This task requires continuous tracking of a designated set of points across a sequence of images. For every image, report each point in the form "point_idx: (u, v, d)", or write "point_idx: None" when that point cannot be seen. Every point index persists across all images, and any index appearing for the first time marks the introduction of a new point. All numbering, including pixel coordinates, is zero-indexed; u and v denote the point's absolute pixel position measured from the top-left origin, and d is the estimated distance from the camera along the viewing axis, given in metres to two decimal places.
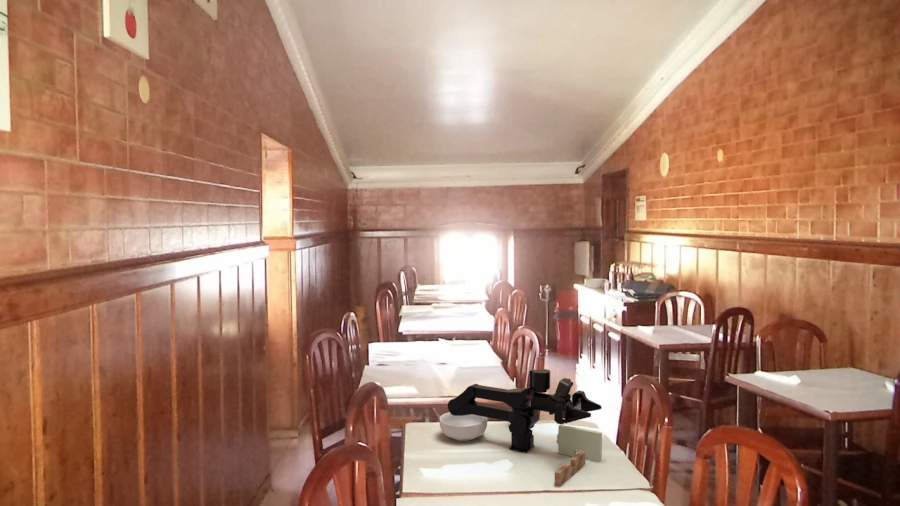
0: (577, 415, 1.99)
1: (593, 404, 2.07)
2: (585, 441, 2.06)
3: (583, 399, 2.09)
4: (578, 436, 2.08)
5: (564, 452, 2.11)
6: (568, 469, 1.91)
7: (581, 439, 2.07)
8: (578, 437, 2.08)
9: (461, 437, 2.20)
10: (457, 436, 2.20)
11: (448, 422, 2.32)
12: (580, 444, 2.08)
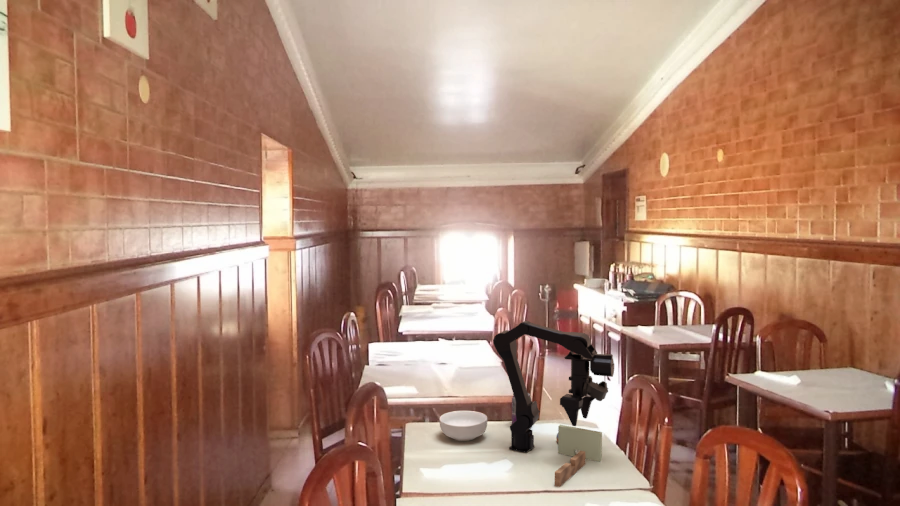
0: (571, 414, 2.03)
1: (586, 410, 2.11)
2: (585, 441, 2.06)
3: (590, 400, 2.11)
4: (578, 436, 2.08)
5: (564, 452, 2.11)
6: (568, 469, 1.91)
7: (581, 439, 2.07)
8: (578, 437, 2.08)
9: (461, 437, 2.20)
10: (457, 436, 2.20)
11: (448, 422, 2.32)
12: (580, 444, 2.08)
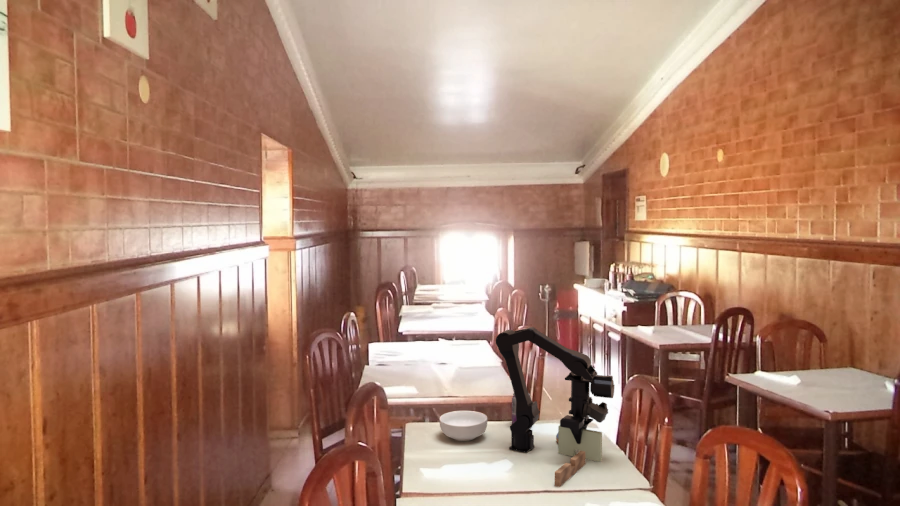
0: (575, 432, 2.07)
1: None
2: (585, 441, 2.06)
3: (586, 423, 2.08)
4: None
5: (564, 452, 2.10)
6: (568, 469, 1.91)
7: (581, 439, 2.07)
8: None
9: (461, 437, 2.20)
10: (457, 436, 2.20)
11: (448, 422, 2.32)
12: (580, 444, 2.07)
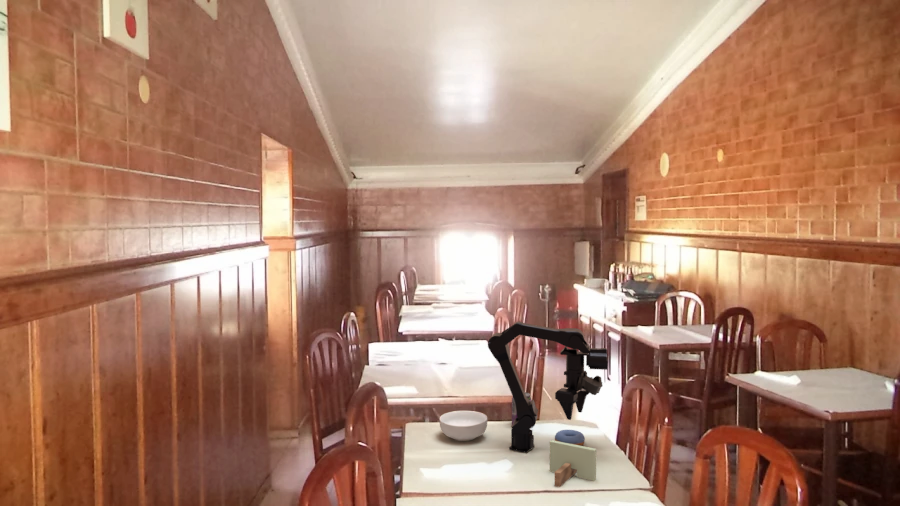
0: (566, 408, 2.07)
1: (581, 404, 2.15)
2: (578, 458, 1.92)
3: (584, 394, 2.15)
4: (570, 453, 1.93)
5: None
6: (568, 469, 1.91)
7: (574, 456, 1.93)
8: (571, 454, 1.93)
9: (461, 437, 2.20)
10: (457, 436, 2.20)
11: (448, 422, 2.32)
12: (572, 462, 1.93)
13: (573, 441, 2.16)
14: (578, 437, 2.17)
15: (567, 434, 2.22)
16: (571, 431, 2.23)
